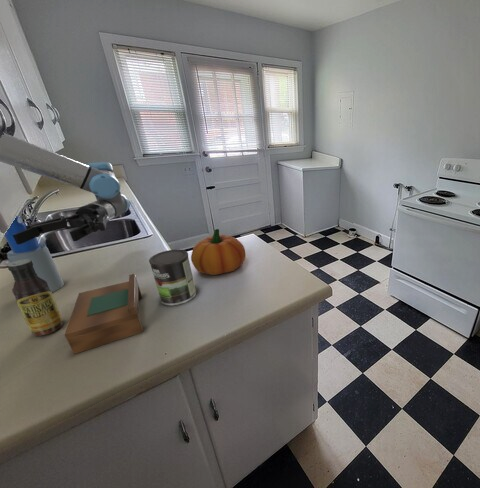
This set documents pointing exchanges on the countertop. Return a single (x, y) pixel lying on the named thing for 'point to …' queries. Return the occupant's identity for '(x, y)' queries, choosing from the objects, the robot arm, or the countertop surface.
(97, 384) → the countertop surface
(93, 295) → the brown wooden box
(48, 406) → the countertop surface
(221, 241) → the pumpkin
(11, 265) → the sauce bottle
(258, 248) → the countertop surface
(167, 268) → the large food can
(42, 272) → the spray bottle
